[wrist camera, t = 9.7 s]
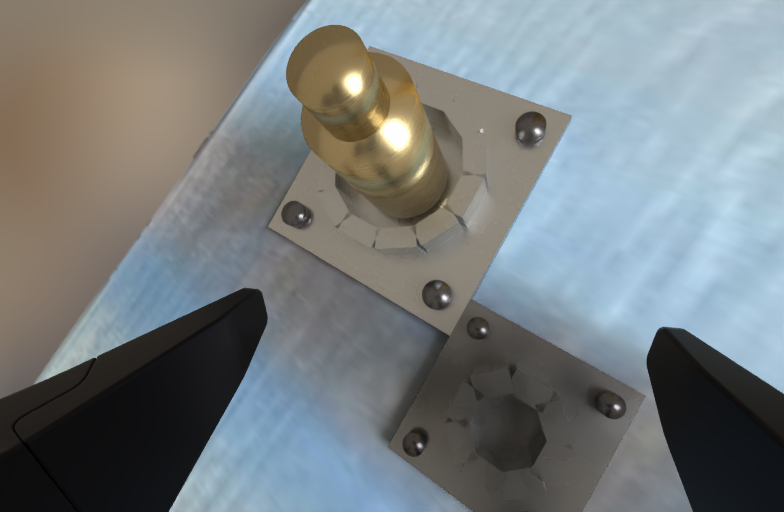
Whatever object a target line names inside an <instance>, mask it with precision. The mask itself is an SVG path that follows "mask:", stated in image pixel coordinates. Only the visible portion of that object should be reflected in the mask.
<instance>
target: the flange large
mask: <svg viewBox="0 0 784 512" xmlns="http://www.w3.org/2000/svg"><path fill="white" fill-rule="evenodd" d="M367 51H368V52H374V53H380V54H385V55H387V56H390V57H392V58H393V59H395V60H397V61H398V62H399V63H400V64H402V65H403V67H404V68H405V69H406V70H407V72H408V73H409V75H410V77H411V79H412V81H413V84H414V86H415V89H416V91H417V94H418V96H419V98H420V101H421V103H422V106H423V108H424V111H425V113H426V116H427V118H428V120H429V123H430V125H431V128H432V130H433V133H434V135H435V138H436V140H437V142H438V145H439V147H440V150H441V152H442V155H443V157H444V160H445V162H446V166H447V172H448V176H447V184H446V187H445V190H444V192H443V194H442V196H441V197H440V199H439V200H438V201H437V203H436V204H435V205H434V206H433V207H432V208H430V209H429V210H428V211H426V212H424V213H423V214H421V215H418V216H415V217H412V218H394V217H391V216H388V215H386V214H384V213H382V212H381V211H380V210H378V209H377V208H376V207H375V206H374V205H373V204H372V203H370V202H369V201H368V200H367V199H366V198H365V197H364V196H362V195H361V194H360V193H359V192H358V191H357V190H356V189H354V188H353V187H352V186H351V185H350V184H349V183H348V182H347V181H345V180H344V179H343V178H342V177H341V176H340V175H339V174H337V173H336V172H335V171H334V170H333V169H332V168H331V167H329V166H328V165H327V164H326V163H325V162H324V161H323V160H321V159H320V158H319V157H318V156H317V155H316V154H315V153H314V152H313V151H312V150H311V151H310V153H309V155H308V157H307V158H306V160H305V162H304V164H303V165H302V167H301V169H300V171H299V173H298V174H297V176H296V178H295V180H294V181H293V183H292V185H291V187H290V189H289V190H288V192H287V194H286V196H285V197H284V199H283V201H282V203H281V205H280V206H279V208H278V210H277V212H276V213H275V215H274V217H273V219H272V221H271V222H270V224H269V226H268V227H269V228H271V229H273V230H274V231H276V232H278V233H279V234H281V235H283V236H284V237H286V238H288V239H289V240H291V241H293V242H294V243H296V244H298V245H299V246H301V247H303V248H304V249H306V250H308V251H309V252H311V253H313V254H314V255H316V256H318V257H319V258H321V259H323V260H324V261H326V262H328V263H329V264H331V265H333V266H334V267H336V268H338V269H339V270H341V271H343V272H344V273H346V274H348V275H349V276H351V277H353V278H354V279H356V280H358V281H359V282H361V283H363V284H364V285H366V286H368V287H369V288H371V289H373V290H374V291H376V292H378V293H379V294H381V295H383V296H384V297H386V298H388V299H389V300H391V301H393V302H394V303H396V304H398V305H399V306H401V307H403V308H404V309H406V310H408V311H409V312H411V313H413V314H414V315H416V316H418V317H419V318H421V319H423V320H424V321H426V322H428V323H429V324H431V325H433V326H434V327H436V328H437V329H439V330H441V331H442V332H444V333H446V334H447V335H449V336H450V334H451V333H452V331H453V329H454V327H455V325H456V324H457V322H458V320H459V318H460V316H461V315H462V313H463V311H464V309H465V307H466V306H467V304H468V302H469V300H470V299H471V300H472V298H473V296H474V294H475V293H476V291H477V289H478V287H479V285H480V284H481V282H482V280H483V278H484V276H485V275H486V273H487V271H488V269H489V267H490V266H491V264H492V262H493V260H494V258H495V257H496V255H497V253H498V251H499V249H500V248H501V246H502V244H503V242H504V240H505V239H506V237H507V235H508V233H509V231H510V230H511V228H512V226H513V224H514V222H515V221H516V219H517V217H518V215H519V213H520V212H521V210H522V208H523V206H524V204H525V203H526V201H527V199H528V197H529V195H530V194H531V192H532V190H533V188H534V186H535V185H536V183H537V181H538V179H539V177H540V176H541V174H542V172H543V170H544V168H545V167H546V165H547V163H548V161H549V159H550V158H551V156H552V154H553V152H554V150H555V149H556V147H557V145H558V143H559V141H560V140H561V138H562V136H563V134H564V132H565V131H566V129H567V127H568V125H569V123H570V121H571V118H572V116H571V115H568V114H566V113H563V112H560V111H557V110H554V109H551V108H548V107H545V106H542V105H539V104H536V103H534V102H531V101H528V100H525V99H522V98H519V97H516V96H513V95H510V94H507V93H505V92H502V91H499V90H496V89H493V88H490V87H487V86H484V85H481V84H478V83H475V82H473V81H470V80H467V79H464V78H461V77H458V76H455V75H452V74H449V73H446V72H443V71H441V70H438V69H435V68H432V67H429V66H426V65H423V64H420V63H417V62H414V61H412V60H409V59H406V58H403V57H400V56H397V55H394V54H391V53H388V52H385V51H382V50H380V49H377V48H374V47H371V46H369V48H368V50H367Z"/></svg>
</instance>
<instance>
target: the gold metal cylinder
mask: <svg viewBox="0 0 784 512" xmlns="http://www.w3.org/2000/svg"><path fill="white" fill-rule="evenodd" d="M286 79H287V84H288V87H289V89H290V91H291V92H292V94H293V95H294V96H295V97H296V98H297V99H298V100H299V101H300V102H301V103H302V104H303V108H302V115H301V125H302V131H303V135H304V138H305V140H306V142H307V144H308V146H309V147H310V149H311V150H312V151H313V152H314V153H315V154H316V155H317V156H318V157H319V158H320V159H321V160H323V161H324V162H325V163H326V164H327V165H328V166H329V167H331V168H332V169H333V170H334V171H335V172H336V173H337V174H339V175H340V176H341V177H342V178H343V179H344V180H345V181H347V182H348V183H349V184H350V185H351V186H352V187H353V188H354V189H356V190H357V191H358V192H359V193H360V194H361V195H362V196H364V197H365V198H366V199H367V200H368V201H369V202H370V203H372V204H373V205H374V206H375V207H376V208H377V209H378V210H380V211H381V212H382V213H384V214H386V215H388V216H391V217H394V218H412V217H415V216H418V215H421V214H423V213H424V212H426V211H428V210H429V209H430V208H432V207H433V206H434V205H435V204H436V203H437V201H438V200H439V199H440V197H441V196H442V194H443V192H444V190H445V187H446V184H447V176H448V172H447V166H446V162H445V160H444V157H443V155H442V152H441V150H440V147H439V145H438V142H437V140H436V138H435V135H434V133H433V130H432V128H431V125H430V123H429V120H428V118H427V116H426V113H425V111H424V108H423V106H422V103H421V101H420V98H419V96H418V94H417V91H416V89H415V86H414V84H413V81H412V79H411V77H410V75H409V73H408V72H407V70H406V69H405V68H404V67H403V65H402V64H400V63H399V62H398V61H397V60H395V59H393V58H392V57H390V56H387V55H385V54H380V53H374V52H368V51H367V49H366V47H365V46H364V44H363V42H362V40H361V38H360V37H359V35H358V34H357V33H356V32H355V31H353V30H352V29H350V28H348V27H345V26H341V25H329V26H324V27H321V28H319V29H316V30H314V31H313V32H311V33H309V34H308V35H307V36H305V37H304V38H303V39H302V40H301V41H300V42H299V43H298V45H297V46H296V47H295V49H294V50H293V52H292V54H291V56H290V58H289V61H288V64H287V70H286Z"/></svg>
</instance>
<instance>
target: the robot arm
mask: <svg viewBox="0 0 784 512" xmlns="http://www.w3.org/2000/svg"><path fill="white" fill-rule="evenodd" d="M267 319H268V317H267V311H266V307H265V303H264V299H263V295H262V292H261V291H260V290H258V289H251V288H243V289H241V290H238V291H236V292H234V293H232V294H230V295H228V296H226V297H223V298H221V299H219V300H217V301H215V302H213V303H211V304H208V305H206V306H204V307H202V308H200V309H198V310H196V311H193V312H191V313H189V314H187V315H185V316H183V317H181V318H178V319H176V320H174V321H172V322H170V323H168V324H166V325H163V326H161V327H159V328H157V329H155V330H153V331H151V332H148V333H146V334H144V335H142V336H140V337H138V338H136V339H133V340H131V341H129V342H127V343H125V344H123V345H121V346H118V347H116V348H114V349H112V350H110V351H108V352H106V353H103V354H101V355H99V356H98V357H97V359H96V358H92V359H90V360H88V361H86V362H84V363H82V364H80V365H78V366H75V367H73V368H71V369H69V370H67V371H64V372H62V373H60V374H58V375H55V376H53V377H51V378H49V379H47V380H44V381H42V382H39V383H37V384H35V385H32V386H30V387H28V388H25V389H23V390H21V391H18V392H16V393H13V394H11V395H9V396H6V397H4V398H1V399H0V512H169V510H170V508H171V507H172V505H173V503H174V501H175V500H176V498H177V496H178V494H179V492H180V491H181V489H182V487H183V485H184V483H185V482H186V480H187V478H188V476H189V475H190V473H191V471H192V469H193V467H194V466H195V464H196V462H197V460H198V458H199V457H200V455H201V453H202V451H203V450H204V448H205V446H206V444H207V442H208V441H209V439H210V437H211V435H212V433H213V432H214V430H215V428H216V426H217V425H218V423H219V421H220V419H221V417H222V416H223V414H224V412H225V410H226V408H227V407H228V405H229V403H230V401H231V399H232V398H233V396H234V394H235V392H236V391H237V389H238V387H239V385H240V383H241V381H242V379H243V378H244V376H245V373H246V371H247V369H248V367H249V365H250V362H251V360H252V358H253V355H254V353H255V351H256V348H257V346H258V344H259V341H260V339H261V336H262V334H263V332H264V329H265V327H266V324H267ZM647 369H648V373H649V377H650V381H651V385H652V389H653V393H654V397H655V401H656V405H657V409H658V413H659V417H660V421H661V425H662V428H663V432H664V435H665V438H666V441H667V444H668V447H669V449H670V452H671V455H672V457H673V460H674V463H675V465H676V468H677V471H678V473H679V476H680V478H681V481H682V484H683V486H684V489H685V492H686V494H687V497H688V500H689V502H690V505H691V508H692V510H693V512H784V394H783V393H782V392H780V391H779V390H777V389H775V388H774V387H772V386H771V385H769V384H768V383H766V382H765V381H763V380H762V379H760V378H759V377H757V376H755V375H754V374H752V373H751V372H749V371H748V370H746V369H745V368H743V367H742V366H740V365H739V364H737V363H735V362H734V361H732V360H731V359H729V358H728V357H726V356H725V355H723V354H722V353H720V352H719V351H717V350H715V349H714V348H712V347H711V346H709V345H708V344H706V343H705V342H703V341H702V340H700V339H699V338H697V337H695V336H694V335H692V334H691V333H689V332H688V331H686V330H684V329H681V328H672V327H661V328H659V329H658V331H657V332H656V335H655V337H654V340H653V342H652V345H651V348H650V350H649V353H648V356H647Z"/></svg>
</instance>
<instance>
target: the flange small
mask: <svg viewBox="0 0 784 512" xmlns="http://www.w3.org/2000/svg"><path fill="white" fill-rule="evenodd" d="M644 398H645V395H643V394H641V393H639V392H637V391H636V390H634V389H632V388H630V387H628V386H627V385H625V384H623V383H621V382H619V381H617V380H616V379H614V378H612V377H610V376H608V375H607V374H605V373H603V372H601V371H599V370H598V369H596V368H594V367H592V366H590V365H589V364H587V363H585V362H583V361H581V360H580V359H578V358H576V357H574V356H572V355H571V354H569V353H567V352H565V351H563V350H561V349H560V348H558V347H556V346H554V345H552V344H551V343H549V342H547V341H545V340H543V339H542V338H540V337H538V336H536V335H534V334H533V333H531V332H529V331H527V330H525V329H524V328H522V327H520V326H518V325H516V324H515V323H513V322H511V321H509V320H507V319H505V318H504V317H502V316H500V315H498V314H496V313H495V312H493V311H491V310H489V309H487V308H486V307H484V306H482V305H480V304H478V303H477V302H475V301H473V300H471V299H470V300H469V302H468V304H467V306H466V307H465V309H464V311H463V313H462V315H461V316H460V318H459V320H458V322H457V324H456V325H455V327H454V329H453V331H452V333H451V334H450V336H449V338H448V340H447V342H446V343H445V345H444V347H443V349H442V351H441V352H440V354H439V356H438V358H437V360H436V361H435V363H434V365H433V367H432V369H431V370H430V372H429V374H428V376H427V378H426V379H425V381H424V383H423V385H422V387H421V388H420V390H419V392H418V394H417V396H416V397H415V399H414V401H413V403H412V405H411V406H410V408H409V410H408V412H407V414H406V415H405V417H404V419H403V421H402V423H401V424H400V426H399V428H398V430H397V432H396V433H395V435H394V437H393V439H392V441H391V442H390V444H389V446H388V447H389V448H390V449H391V450H393V451H394V452H395V453H397V454H398V455H399V456H401V457H402V458H403V459H405V460H406V461H407V462H409V463H410V464H411V465H413V466H414V467H415V468H417V469H418V470H419V471H421V472H422V473H423V474H424V475H426V476H427V477H428V478H430V479H431V480H432V481H434V482H435V483H436V484H438V485H439V486H440V487H442V488H443V489H444V490H446V491H447V492H448V493H450V494H451V495H452V496H454V497H455V498H456V499H458V500H459V501H460V502H462V503H463V504H464V505H466V506H467V507H468V508H469V509H471V510H472V511H473V512H582V511H583V509H584V507H585V506H586V504H587V502H588V500H589V498H590V496H591V495H592V493H593V491H594V489H595V487H596V486H597V484H598V482H599V480H600V478H601V476H602V475H603V473H604V471H605V469H606V467H607V466H608V464H609V462H610V460H611V458H612V456H613V455H614V453H615V451H616V449H617V447H618V445H619V444H620V442H621V440H622V438H623V436H624V435H625V433H626V431H627V429H628V427H629V425H630V424H631V422H632V420H633V418H634V416H635V415H636V413H637V411H638V409H639V407H640V405H641V404H642V402H643V400H644Z"/></svg>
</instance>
